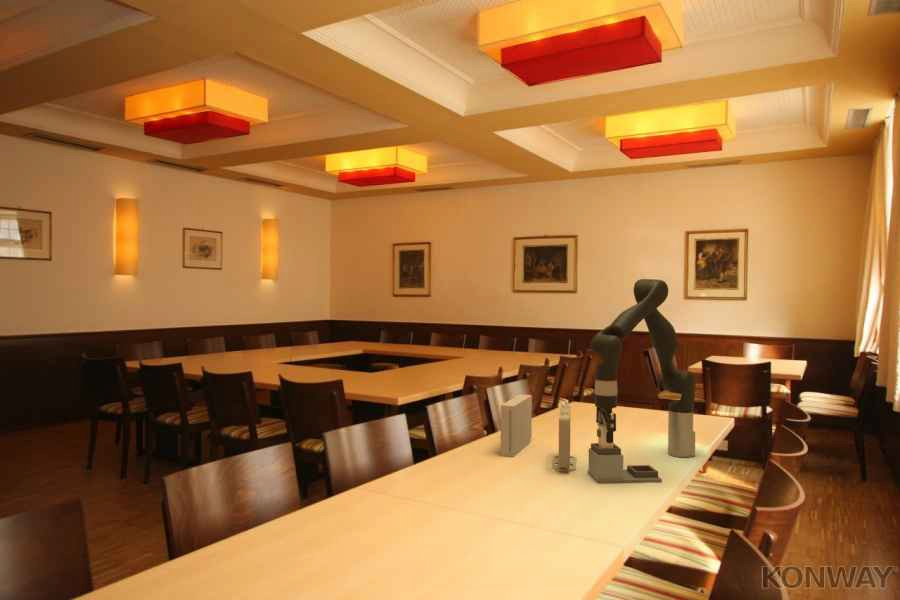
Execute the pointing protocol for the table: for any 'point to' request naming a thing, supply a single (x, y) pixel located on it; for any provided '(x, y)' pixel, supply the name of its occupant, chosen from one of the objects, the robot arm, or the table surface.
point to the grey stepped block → (617, 467)
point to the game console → (516, 424)
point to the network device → (564, 441)
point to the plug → (603, 437)
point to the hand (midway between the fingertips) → (605, 439)
